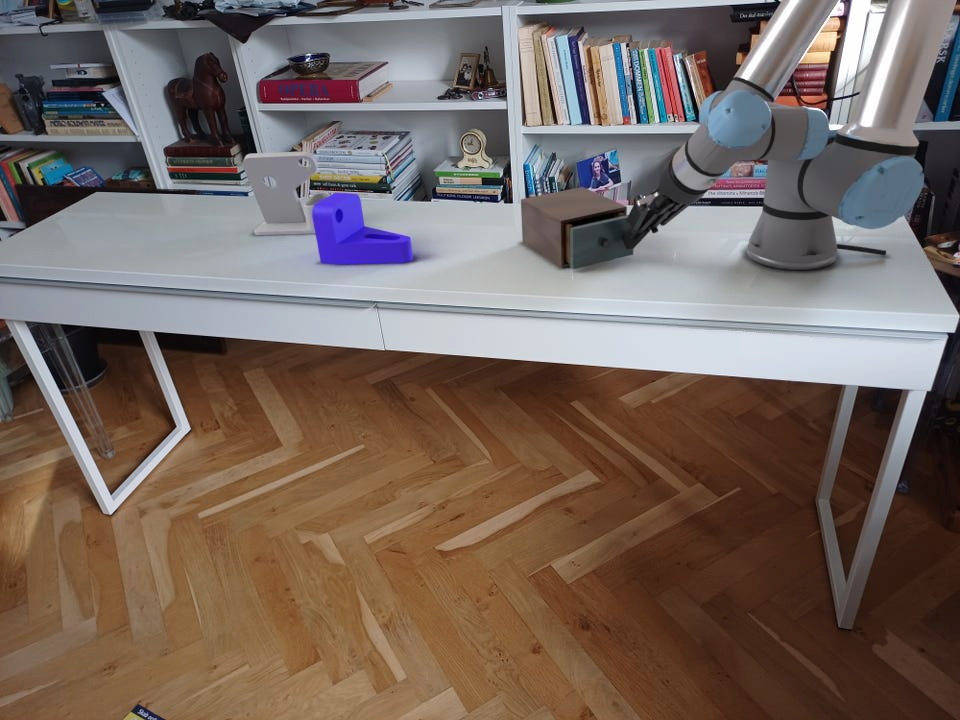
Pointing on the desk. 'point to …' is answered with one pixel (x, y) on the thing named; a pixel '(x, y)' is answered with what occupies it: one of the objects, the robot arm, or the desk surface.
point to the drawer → (595, 241)
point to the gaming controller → (591, 220)
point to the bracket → (354, 235)
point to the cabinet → (560, 218)
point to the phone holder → (282, 191)
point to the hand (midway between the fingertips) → (627, 242)
